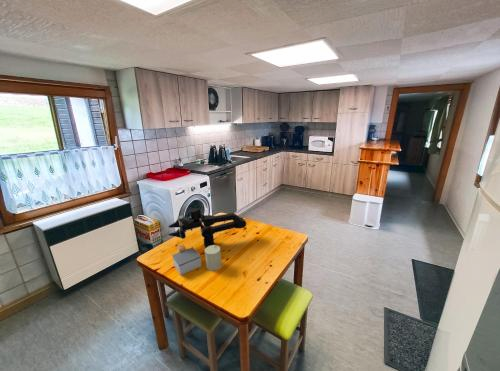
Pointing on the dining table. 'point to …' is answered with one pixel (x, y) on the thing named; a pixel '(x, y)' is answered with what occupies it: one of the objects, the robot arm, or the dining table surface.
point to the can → (213, 257)
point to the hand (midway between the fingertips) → (168, 230)
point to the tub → (187, 266)
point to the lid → (185, 255)
